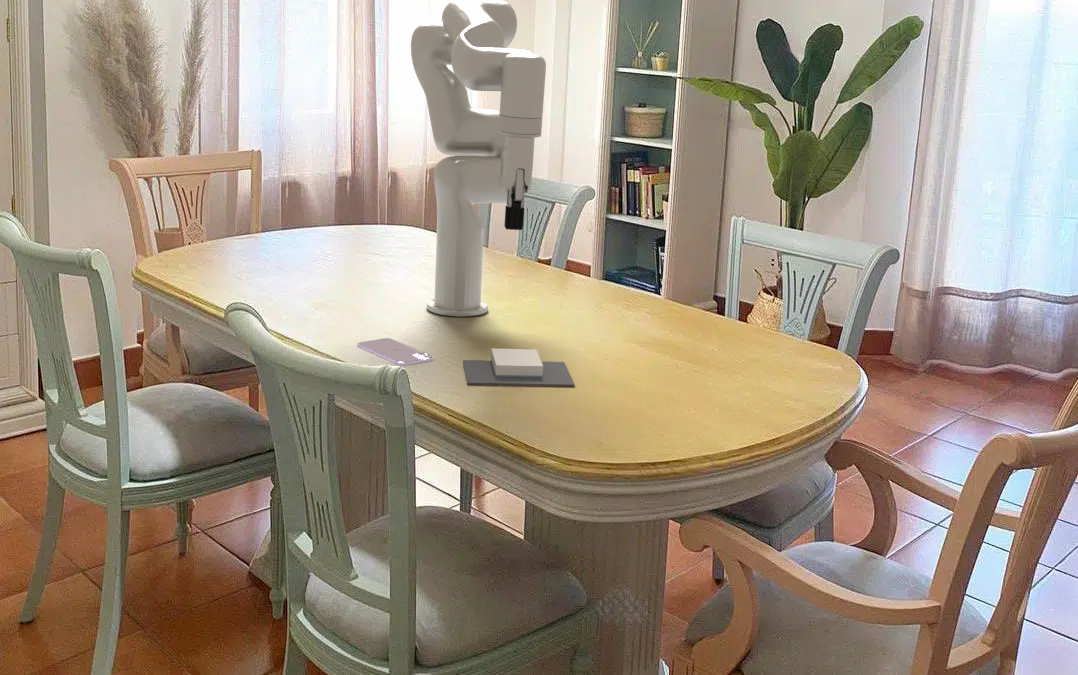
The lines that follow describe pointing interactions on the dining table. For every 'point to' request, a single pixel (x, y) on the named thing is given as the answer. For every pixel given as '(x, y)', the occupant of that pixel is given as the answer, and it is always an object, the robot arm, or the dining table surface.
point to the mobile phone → (394, 351)
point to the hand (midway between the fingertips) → (513, 228)
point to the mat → (485, 375)
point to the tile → (516, 363)
